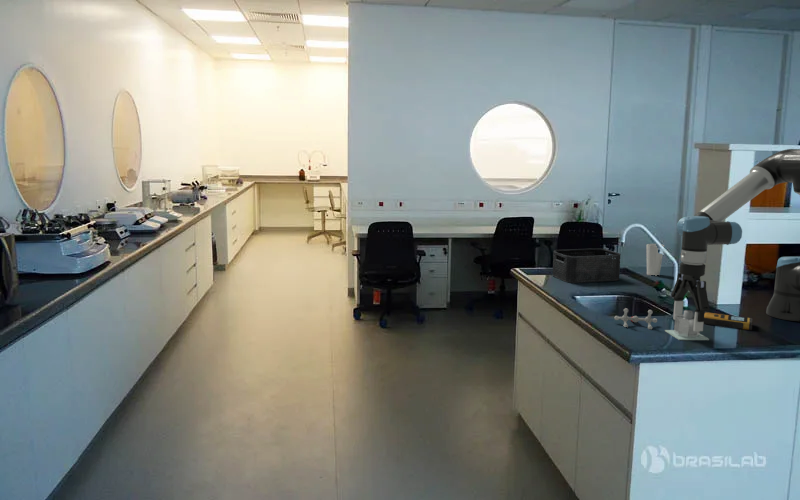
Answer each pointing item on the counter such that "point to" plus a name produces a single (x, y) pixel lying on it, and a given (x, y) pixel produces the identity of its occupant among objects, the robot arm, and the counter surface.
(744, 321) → the electronic device
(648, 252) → the cup
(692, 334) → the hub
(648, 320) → the molecular model
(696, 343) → the counter surface
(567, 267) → the storage bin
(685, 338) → the block
